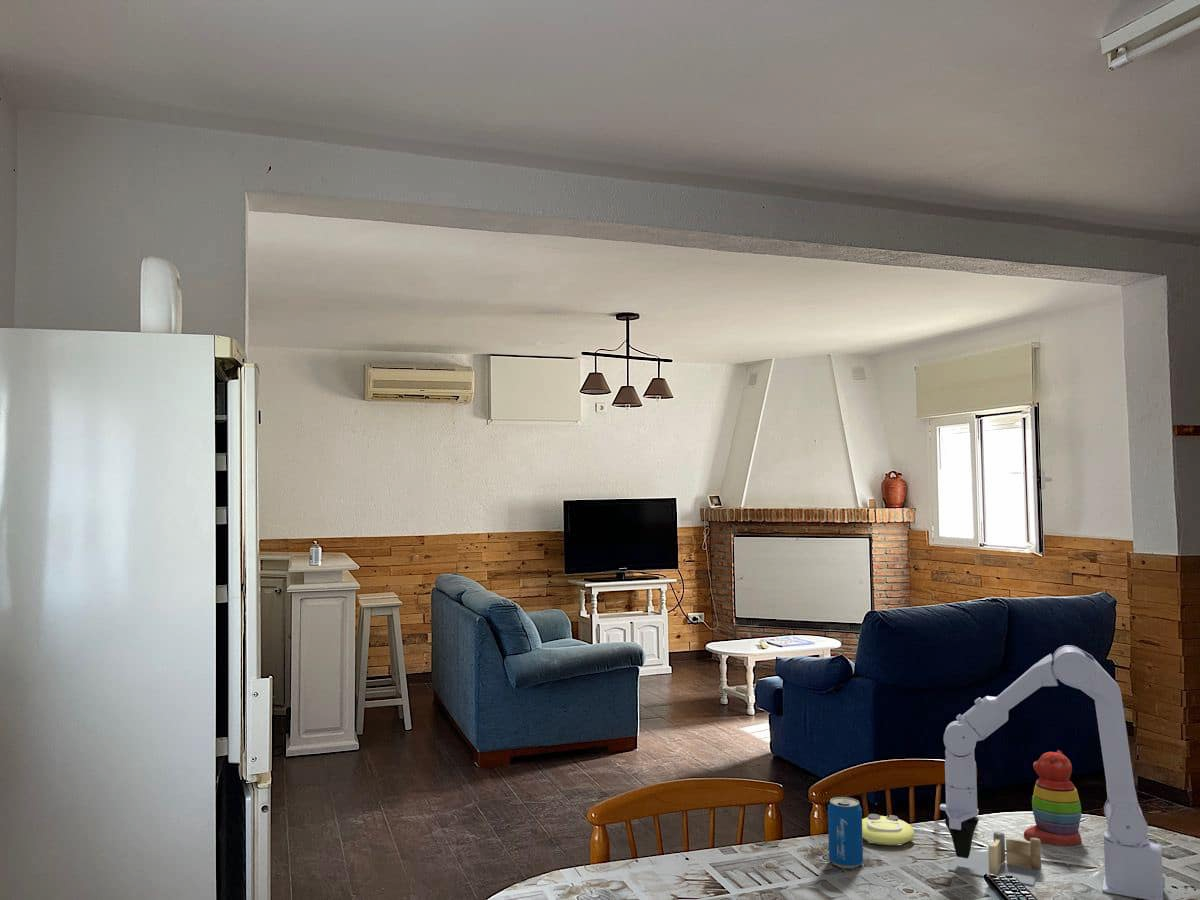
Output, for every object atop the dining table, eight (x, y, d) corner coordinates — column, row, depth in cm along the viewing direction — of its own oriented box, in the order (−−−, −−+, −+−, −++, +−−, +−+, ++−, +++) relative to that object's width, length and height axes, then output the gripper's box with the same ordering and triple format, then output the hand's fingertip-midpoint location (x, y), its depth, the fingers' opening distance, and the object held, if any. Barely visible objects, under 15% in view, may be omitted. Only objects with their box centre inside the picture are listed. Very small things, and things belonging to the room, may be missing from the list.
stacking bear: (1041, 826, 208) (1038, 743, 209) (1090, 837, 200) (1087, 751, 201) (1020, 838, 200) (1017, 752, 201) (1070, 850, 193) (1067, 761, 194)
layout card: (1041, 863, 186) (1041, 861, 186) (1033, 886, 175) (1033, 884, 175) (960, 849, 194) (960, 848, 194) (948, 870, 183) (948, 869, 183)
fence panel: (995, 857, 188) (994, 831, 188) (1005, 859, 187) (1005, 832, 187) (987, 873, 180) (986, 846, 180) (998, 875, 179) (997, 847, 179)
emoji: (917, 834, 194) (910, 811, 205) (856, 831, 196) (853, 808, 208) (918, 853, 194) (911, 829, 205) (857, 850, 196) (853, 826, 208)
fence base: (1041, 867, 183) (1040, 838, 184) (1040, 870, 182) (1039, 841, 182) (1007, 861, 186) (1006, 833, 187) (1006, 864, 185) (1005, 836, 185)
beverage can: (825, 866, 185) (824, 803, 186) (833, 855, 191) (832, 794, 192) (858, 872, 182) (857, 808, 183) (866, 861, 188) (864, 799, 189)
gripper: (946, 773, 194) (948, 841, 193) (931, 791, 181) (933, 864, 181) (983, 778, 190) (985, 847, 190) (971, 797, 178) (973, 871, 177)
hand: (962, 856), depth 185 cm, fingers closed
